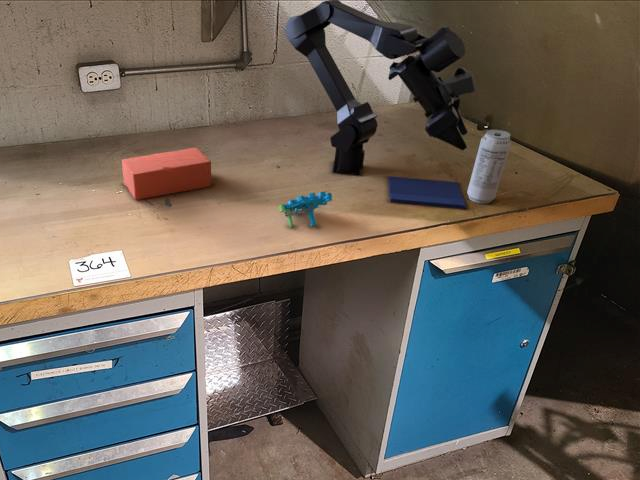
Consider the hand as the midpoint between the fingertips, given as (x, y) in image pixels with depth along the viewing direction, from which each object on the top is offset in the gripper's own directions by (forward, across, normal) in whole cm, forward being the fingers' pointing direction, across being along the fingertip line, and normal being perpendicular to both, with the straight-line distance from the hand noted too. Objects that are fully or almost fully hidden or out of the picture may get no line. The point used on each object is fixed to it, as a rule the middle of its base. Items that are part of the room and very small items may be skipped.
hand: (465, 141), depth 129 cm
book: (+5, -1, +13) cm, 14 cm away
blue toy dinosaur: (-12, -23, +30) cm, 39 cm away
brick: (-35, -18, +53) cm, 66 cm away
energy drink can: (+13, 0, +5) cm, 14 cm away
